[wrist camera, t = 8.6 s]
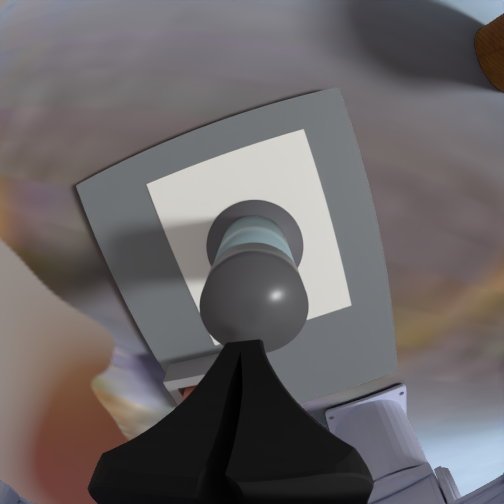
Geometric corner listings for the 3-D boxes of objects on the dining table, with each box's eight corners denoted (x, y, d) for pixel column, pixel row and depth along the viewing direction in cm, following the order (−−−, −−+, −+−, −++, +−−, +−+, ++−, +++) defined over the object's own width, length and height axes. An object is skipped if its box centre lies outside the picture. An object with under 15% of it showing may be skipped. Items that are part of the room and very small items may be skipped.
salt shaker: (295, 267, 19) (319, 337, 12) (234, 286, 20) (222, 363, 12) (276, 205, 18) (291, 243, 11) (211, 226, 19) (182, 277, 11)
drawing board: (393, 362, 24) (407, 386, 20) (199, 414, 25) (194, 441, 22) (333, 90, 17) (349, 78, 14) (84, 183, 19) (58, 189, 16)
